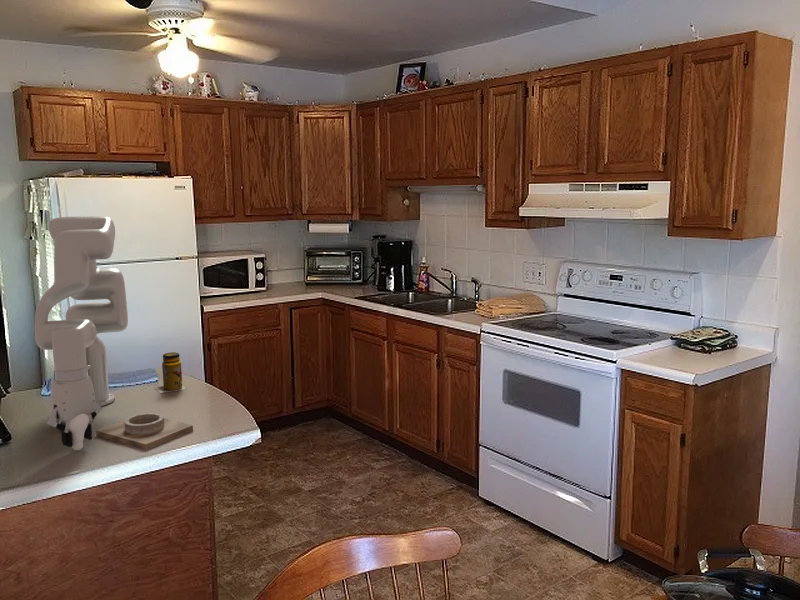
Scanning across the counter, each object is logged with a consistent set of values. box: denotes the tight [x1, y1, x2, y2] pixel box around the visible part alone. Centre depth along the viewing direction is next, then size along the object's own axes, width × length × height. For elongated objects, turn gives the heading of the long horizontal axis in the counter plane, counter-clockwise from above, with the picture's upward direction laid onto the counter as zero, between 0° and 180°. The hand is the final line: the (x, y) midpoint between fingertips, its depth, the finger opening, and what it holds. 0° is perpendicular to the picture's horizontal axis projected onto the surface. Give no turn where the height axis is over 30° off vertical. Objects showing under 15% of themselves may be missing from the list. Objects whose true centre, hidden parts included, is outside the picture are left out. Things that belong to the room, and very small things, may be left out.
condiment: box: [154, 351, 187, 394], centre depth 225 cm, size 7×8×12 cm
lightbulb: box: [63, 414, 89, 451], centre depth 173 cm, size 6×6×11 cm
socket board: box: [95, 412, 194, 450], centre depth 186 cm, size 20×16×4 cm
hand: (77, 441), depth 174 cm, fingers closed on lightbulb, 4 cm apart
